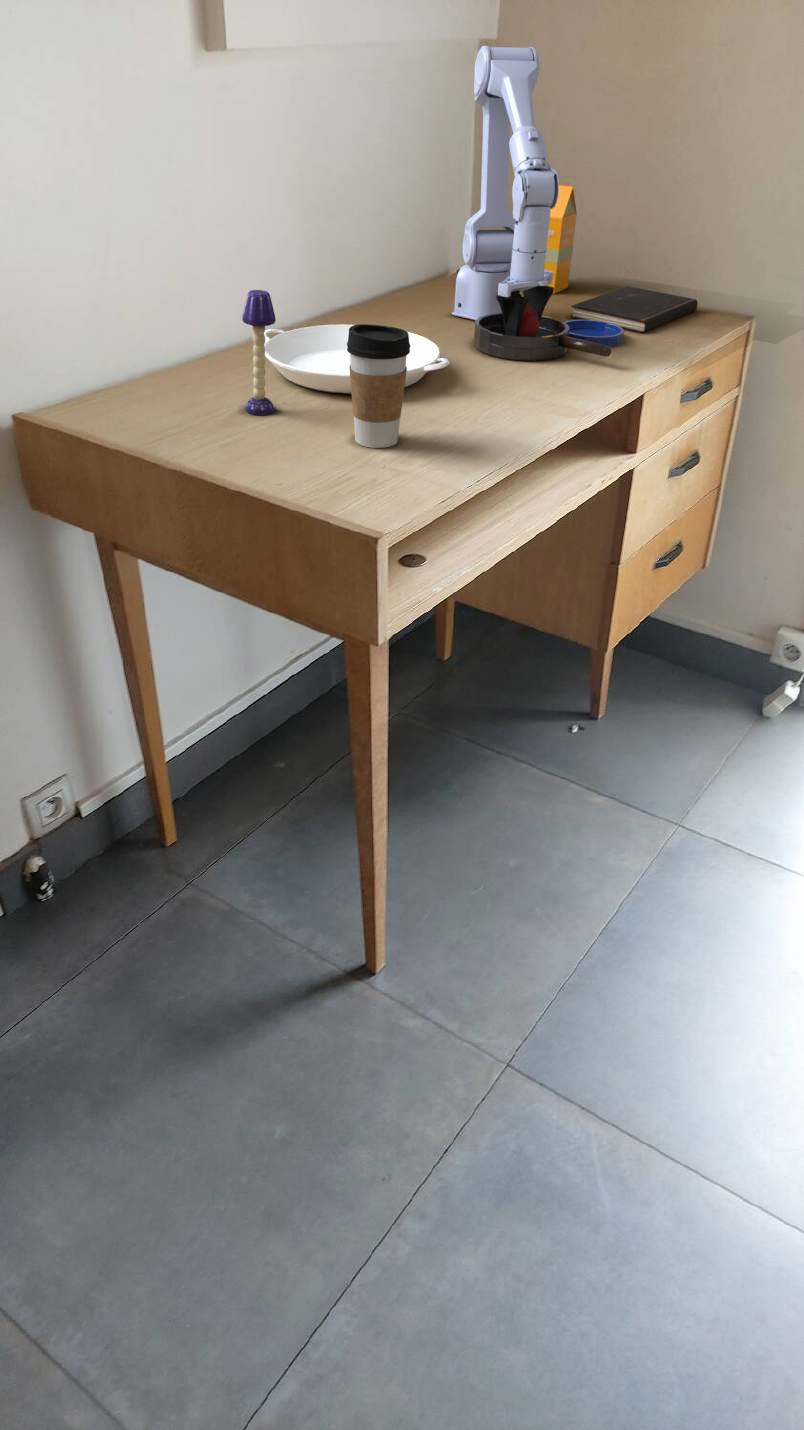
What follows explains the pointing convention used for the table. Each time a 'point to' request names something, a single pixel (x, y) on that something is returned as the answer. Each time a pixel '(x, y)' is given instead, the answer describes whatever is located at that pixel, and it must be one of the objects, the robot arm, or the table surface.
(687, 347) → the table surface
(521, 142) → the robot arm
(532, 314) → the onion
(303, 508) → the table surface
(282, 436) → the table surface
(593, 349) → the pan handle
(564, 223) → the orange juice
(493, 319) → the frying pan
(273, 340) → the pan
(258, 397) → the toy lamp
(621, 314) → the hardcover book
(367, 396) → the coffee cup
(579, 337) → the saucer
